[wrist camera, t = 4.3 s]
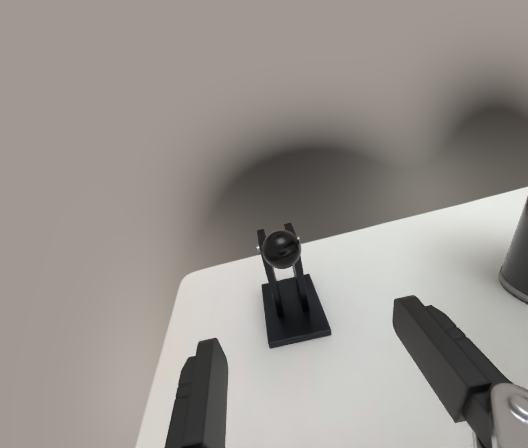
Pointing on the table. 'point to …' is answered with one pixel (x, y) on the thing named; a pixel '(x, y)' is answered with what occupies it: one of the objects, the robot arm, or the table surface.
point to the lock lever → (281, 249)
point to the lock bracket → (291, 304)
